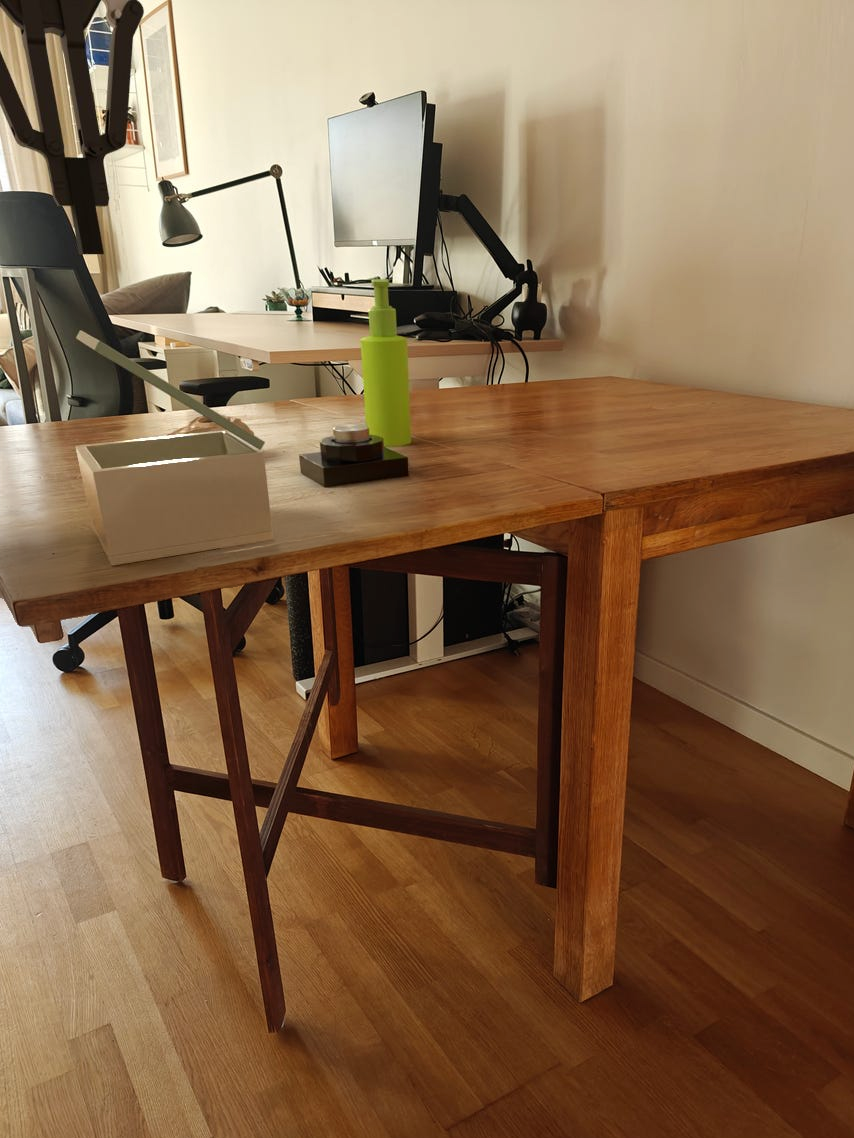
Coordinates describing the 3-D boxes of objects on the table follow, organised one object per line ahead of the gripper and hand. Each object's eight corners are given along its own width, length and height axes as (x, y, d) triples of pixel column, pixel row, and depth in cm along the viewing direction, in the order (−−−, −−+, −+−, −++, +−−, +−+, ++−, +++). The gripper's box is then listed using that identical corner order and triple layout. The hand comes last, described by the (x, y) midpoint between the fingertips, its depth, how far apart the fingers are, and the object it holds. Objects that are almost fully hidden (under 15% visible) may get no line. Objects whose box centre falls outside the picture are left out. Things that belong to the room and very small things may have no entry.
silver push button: (341, 448, 94) (340, 432, 93) (328, 442, 97) (327, 426, 97) (375, 444, 96) (374, 428, 95) (361, 438, 99) (360, 422, 98)
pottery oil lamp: (138, 466, 101) (135, 407, 102) (225, 481, 111) (221, 427, 111) (181, 447, 96) (177, 385, 97) (268, 465, 106) (264, 408, 106)
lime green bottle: (408, 435, 119) (401, 278, 110) (413, 445, 112) (406, 279, 104) (365, 437, 118) (355, 279, 109) (368, 448, 111) (357, 280, 103)
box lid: (94, 349, 64) (99, 340, 64) (75, 338, 73) (80, 329, 73) (260, 450, 73) (265, 442, 73) (225, 428, 82) (229, 421, 82)
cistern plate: (324, 488, 93) (321, 451, 91) (300, 473, 99) (297, 438, 97) (408, 476, 97) (407, 440, 96) (380, 462, 104) (378, 429, 102)
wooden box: (111, 566, 70) (92, 471, 67) (92, 530, 80) (75, 445, 76) (273, 539, 76) (263, 451, 73) (238, 509, 86) (228, 429, 82)
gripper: (117, -100, 63) (168, 253, 73) (-90, -133, 57) (-5, 255, 67) (134, -136, 57) (187, 253, 67) (-95, -178, 51) (0, 255, 61)
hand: (91, 254), depth 67 cm, fingers closed
